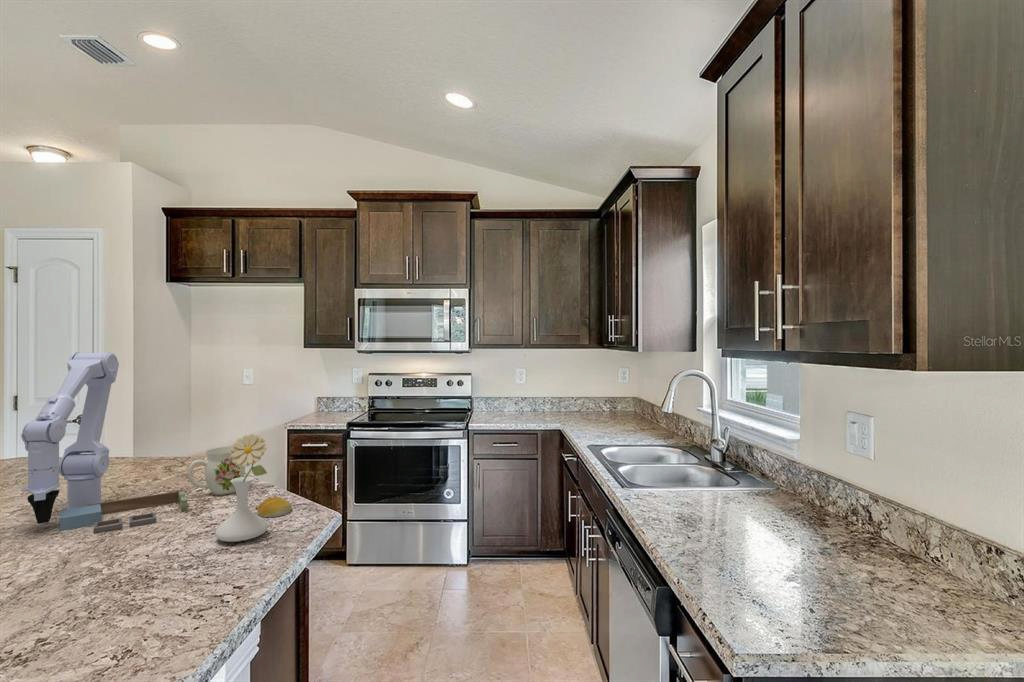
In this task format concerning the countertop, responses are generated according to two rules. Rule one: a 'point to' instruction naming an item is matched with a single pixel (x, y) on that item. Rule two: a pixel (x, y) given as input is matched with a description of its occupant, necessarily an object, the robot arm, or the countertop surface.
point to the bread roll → (274, 507)
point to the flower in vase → (244, 492)
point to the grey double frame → (117, 523)
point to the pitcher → (218, 471)
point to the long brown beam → (144, 502)
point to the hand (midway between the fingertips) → (43, 522)
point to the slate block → (80, 517)
